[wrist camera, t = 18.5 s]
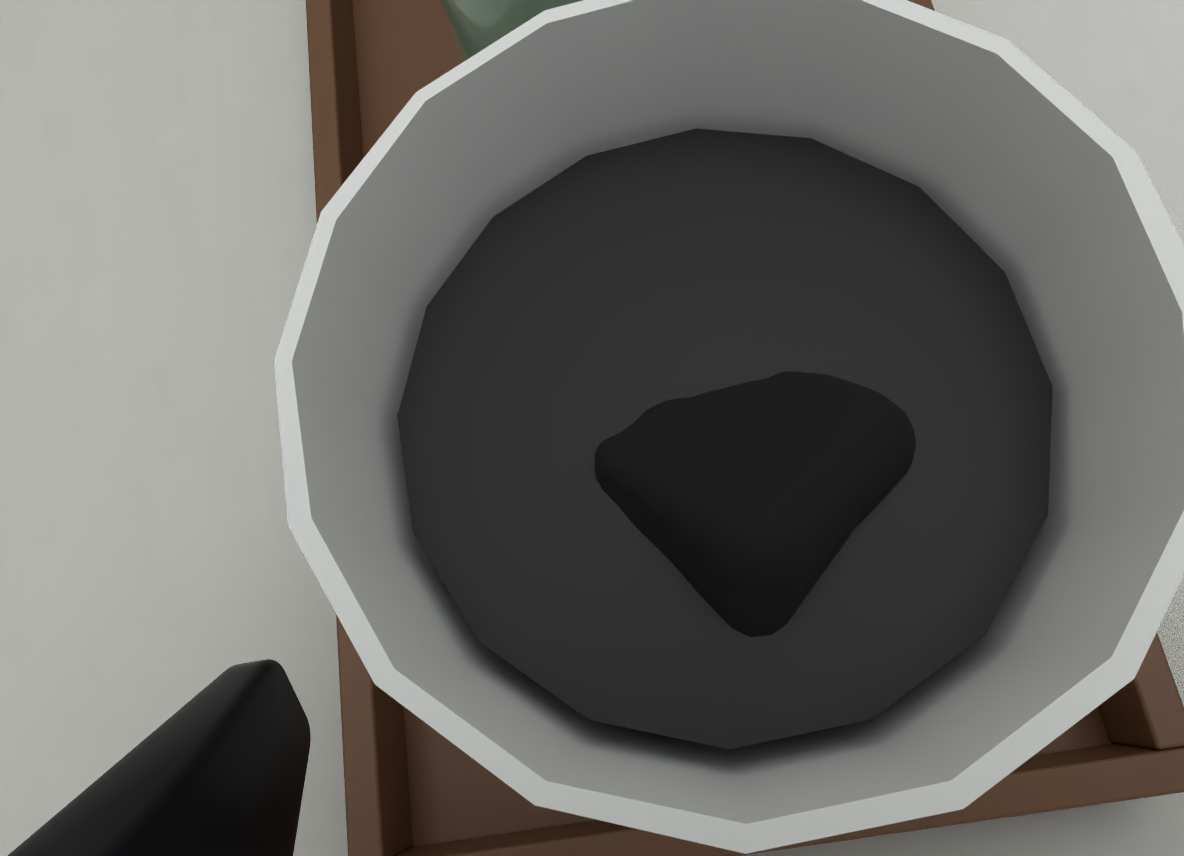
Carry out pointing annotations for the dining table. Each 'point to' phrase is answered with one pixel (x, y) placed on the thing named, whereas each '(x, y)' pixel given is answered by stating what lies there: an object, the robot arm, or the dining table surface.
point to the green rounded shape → (489, 20)
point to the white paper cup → (743, 413)
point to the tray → (459, 783)
